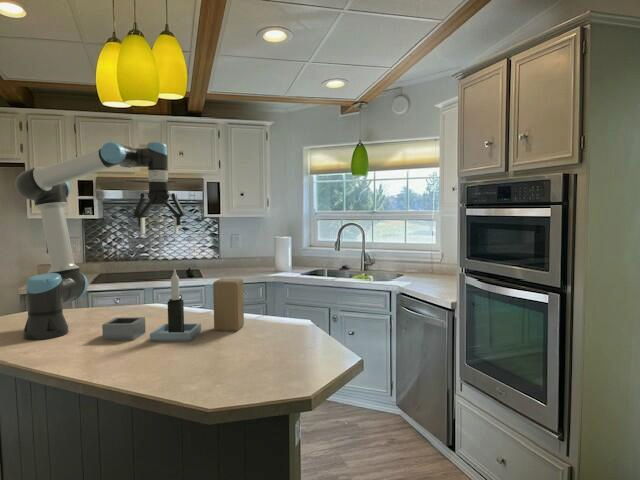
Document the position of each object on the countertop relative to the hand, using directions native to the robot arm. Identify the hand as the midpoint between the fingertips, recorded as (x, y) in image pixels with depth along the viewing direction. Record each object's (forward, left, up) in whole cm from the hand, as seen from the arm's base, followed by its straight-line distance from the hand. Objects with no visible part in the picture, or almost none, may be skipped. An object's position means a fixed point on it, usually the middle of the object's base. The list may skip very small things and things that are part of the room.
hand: (159, 233), depth 186 cm
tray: (+10, -13, -39) cm, 42 cm away
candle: (+10, -13, -38) cm, 41 cm away
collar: (-10, -13, -39) cm, 42 cm away
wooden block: (+28, -2, -39) cm, 48 cm away
